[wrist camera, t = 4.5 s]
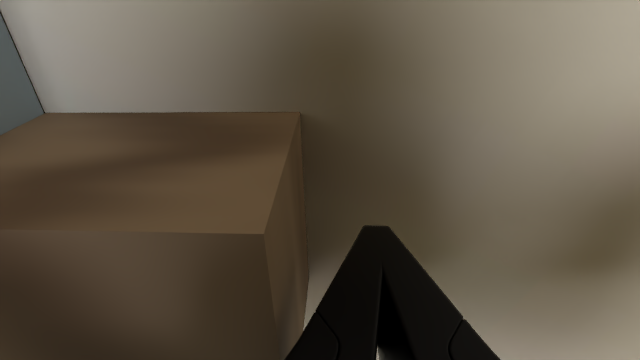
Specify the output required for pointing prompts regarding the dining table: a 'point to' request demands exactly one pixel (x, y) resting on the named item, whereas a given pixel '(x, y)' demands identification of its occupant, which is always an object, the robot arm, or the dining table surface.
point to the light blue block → (14, 87)
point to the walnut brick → (152, 236)
